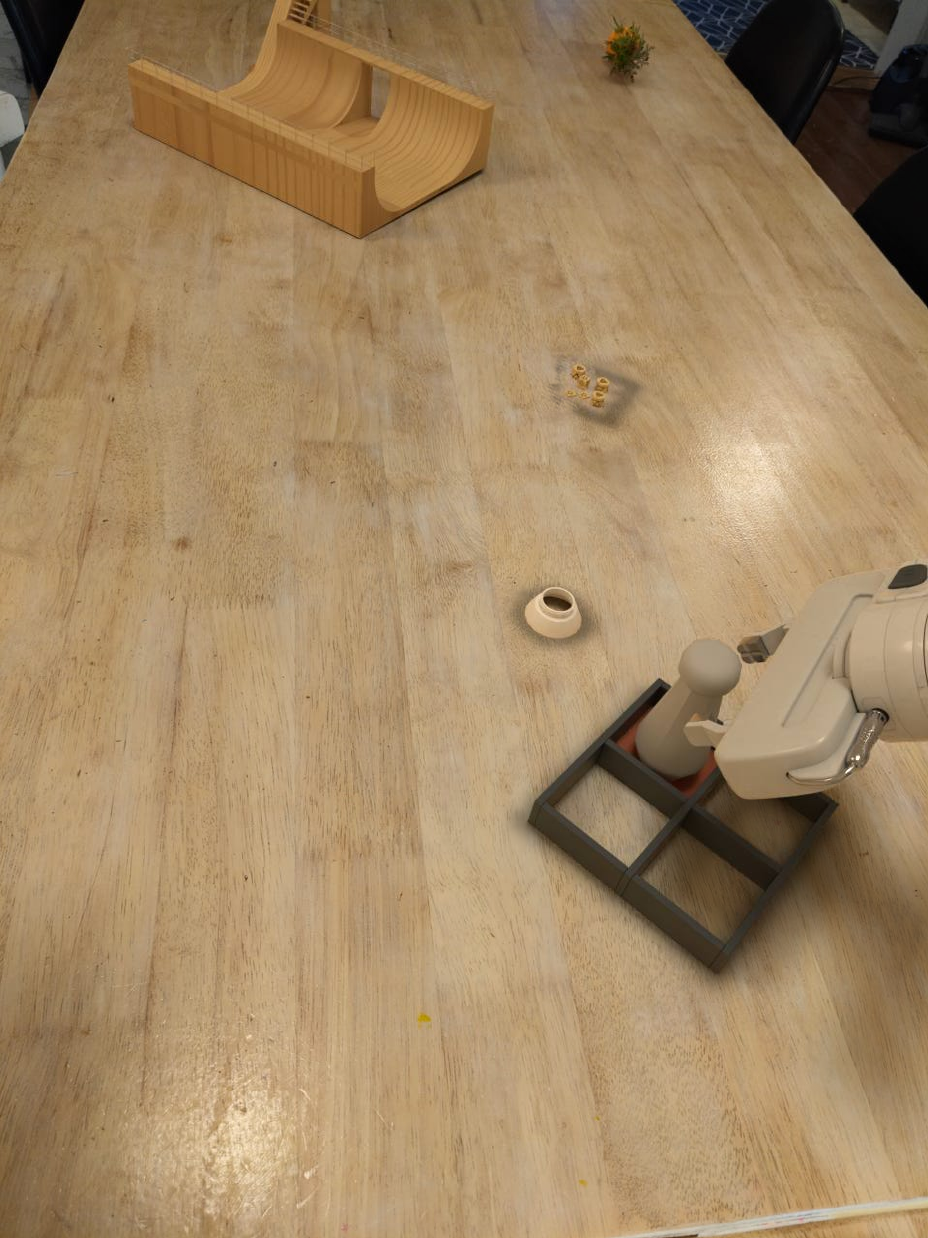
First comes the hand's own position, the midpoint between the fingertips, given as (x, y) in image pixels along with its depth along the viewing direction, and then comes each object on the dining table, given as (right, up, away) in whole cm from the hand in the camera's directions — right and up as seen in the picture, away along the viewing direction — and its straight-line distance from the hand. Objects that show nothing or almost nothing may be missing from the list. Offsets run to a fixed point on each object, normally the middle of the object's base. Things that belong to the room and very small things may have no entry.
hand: (717, 688), depth 74 cm
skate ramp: (-38, +73, +74) cm, 110 cm away
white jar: (-11, +5, +17) cm, 20 cm away
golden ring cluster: (-5, +30, +41) cm, 50 cm away
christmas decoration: (+10, +103, +110) cm, 151 cm away
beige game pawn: (-2, -6, +7) cm, 10 cm away
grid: (-2, -11, +4) cm, 12 cm away
